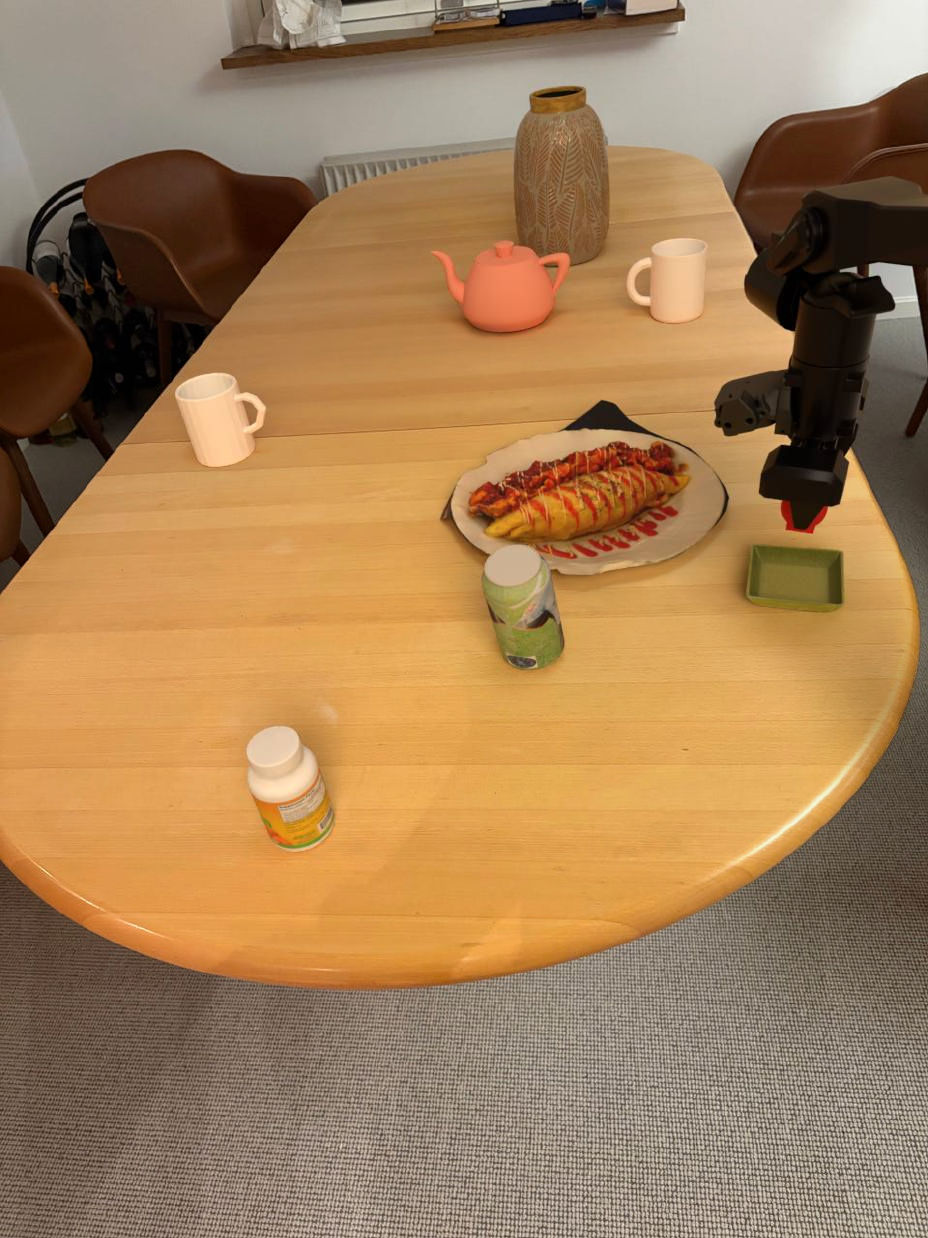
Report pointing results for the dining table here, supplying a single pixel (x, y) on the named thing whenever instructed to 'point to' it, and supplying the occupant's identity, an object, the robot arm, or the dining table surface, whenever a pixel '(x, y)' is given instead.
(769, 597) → the green shallow tray
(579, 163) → the vase
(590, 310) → the dining table surface
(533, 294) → the teapot
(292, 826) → the supplement bottle
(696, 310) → the mug
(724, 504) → the omelette plate
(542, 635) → the beverage can
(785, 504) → the strawberry
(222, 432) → the mug
